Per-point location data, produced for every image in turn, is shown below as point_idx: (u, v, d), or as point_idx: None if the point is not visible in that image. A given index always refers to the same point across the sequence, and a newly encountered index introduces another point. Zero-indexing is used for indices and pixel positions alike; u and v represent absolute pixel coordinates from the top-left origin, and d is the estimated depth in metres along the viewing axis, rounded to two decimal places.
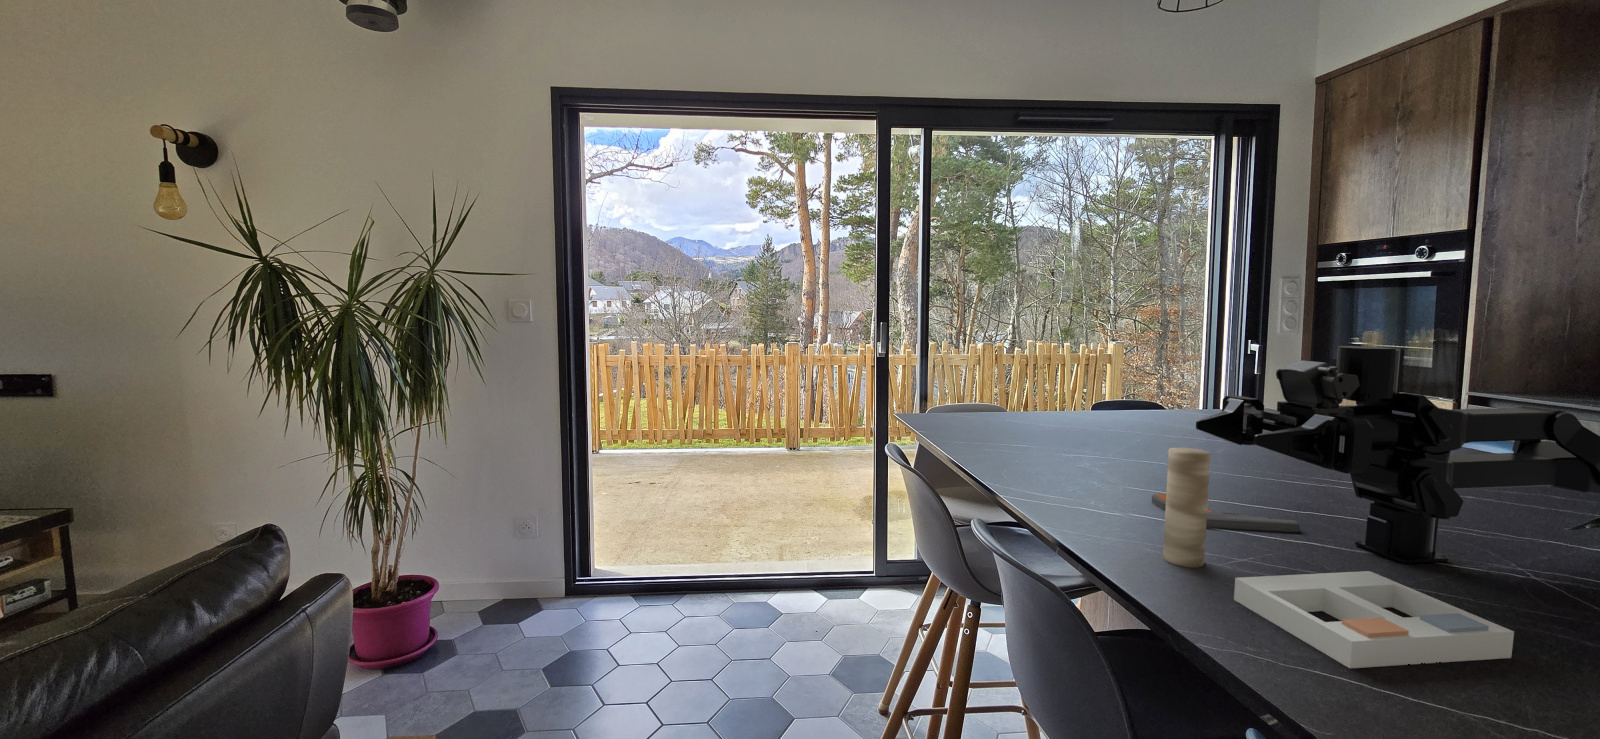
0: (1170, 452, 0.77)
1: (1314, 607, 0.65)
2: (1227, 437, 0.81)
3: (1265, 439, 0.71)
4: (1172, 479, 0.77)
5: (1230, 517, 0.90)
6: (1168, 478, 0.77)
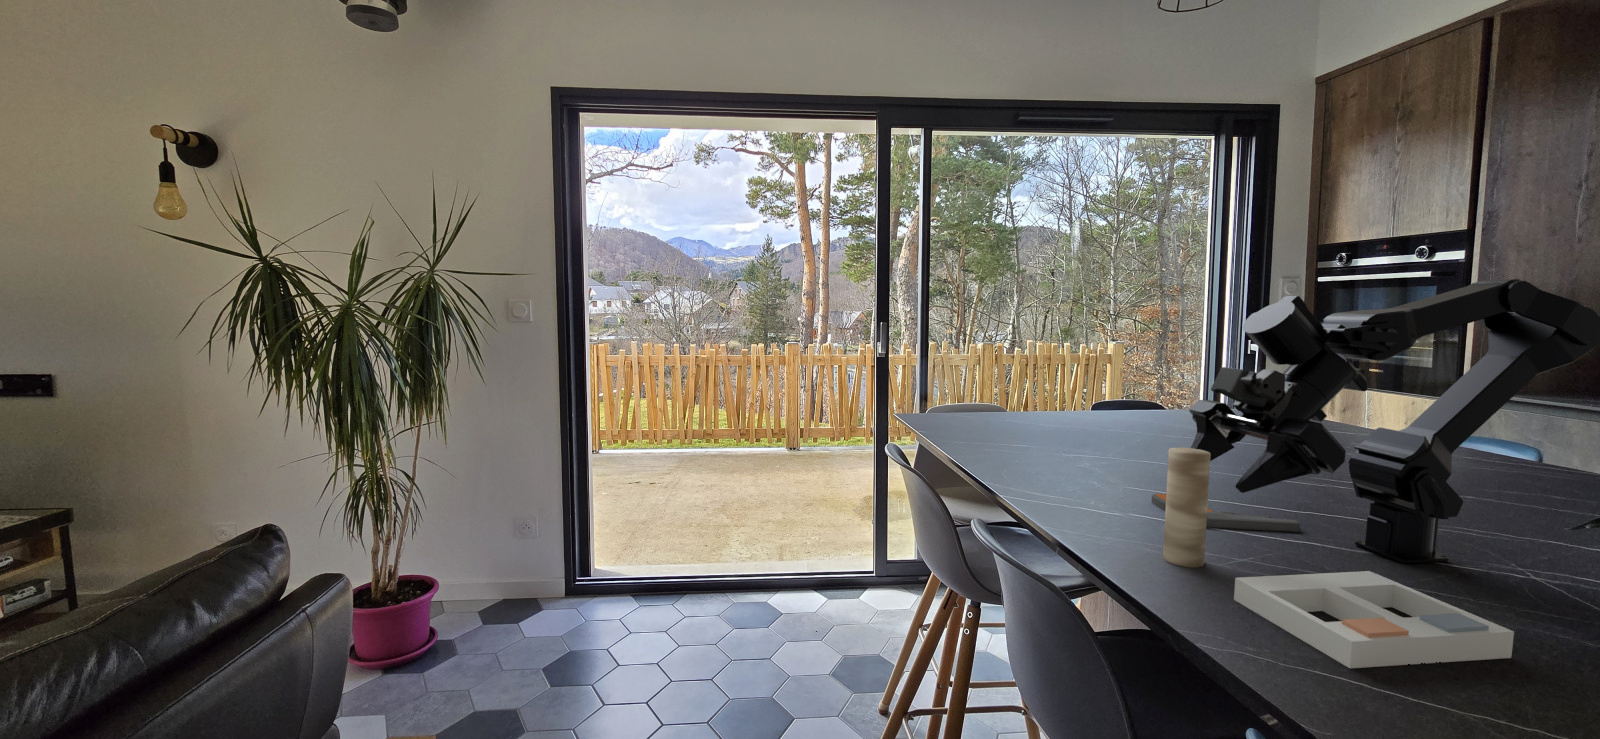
0: (1170, 452, 0.77)
1: (1314, 607, 0.65)
2: (1218, 454, 0.82)
3: (1246, 484, 0.72)
4: (1172, 479, 0.77)
5: (1231, 517, 0.90)
6: (1168, 478, 0.77)
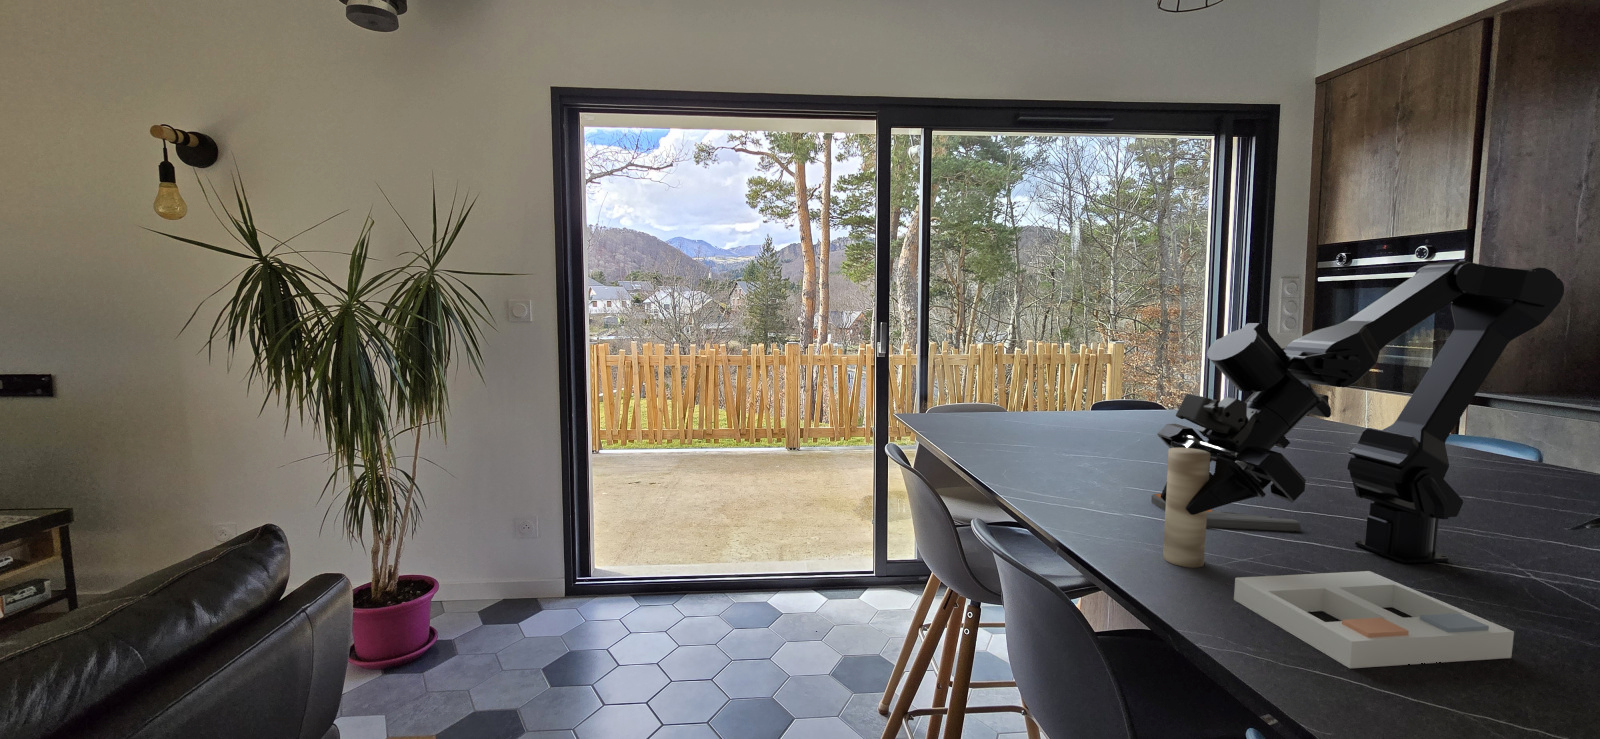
0: (1170, 452, 0.77)
1: (1314, 607, 0.65)
2: None
3: (1195, 506, 0.74)
4: (1172, 479, 0.77)
5: (1231, 516, 0.90)
6: (1168, 478, 0.77)
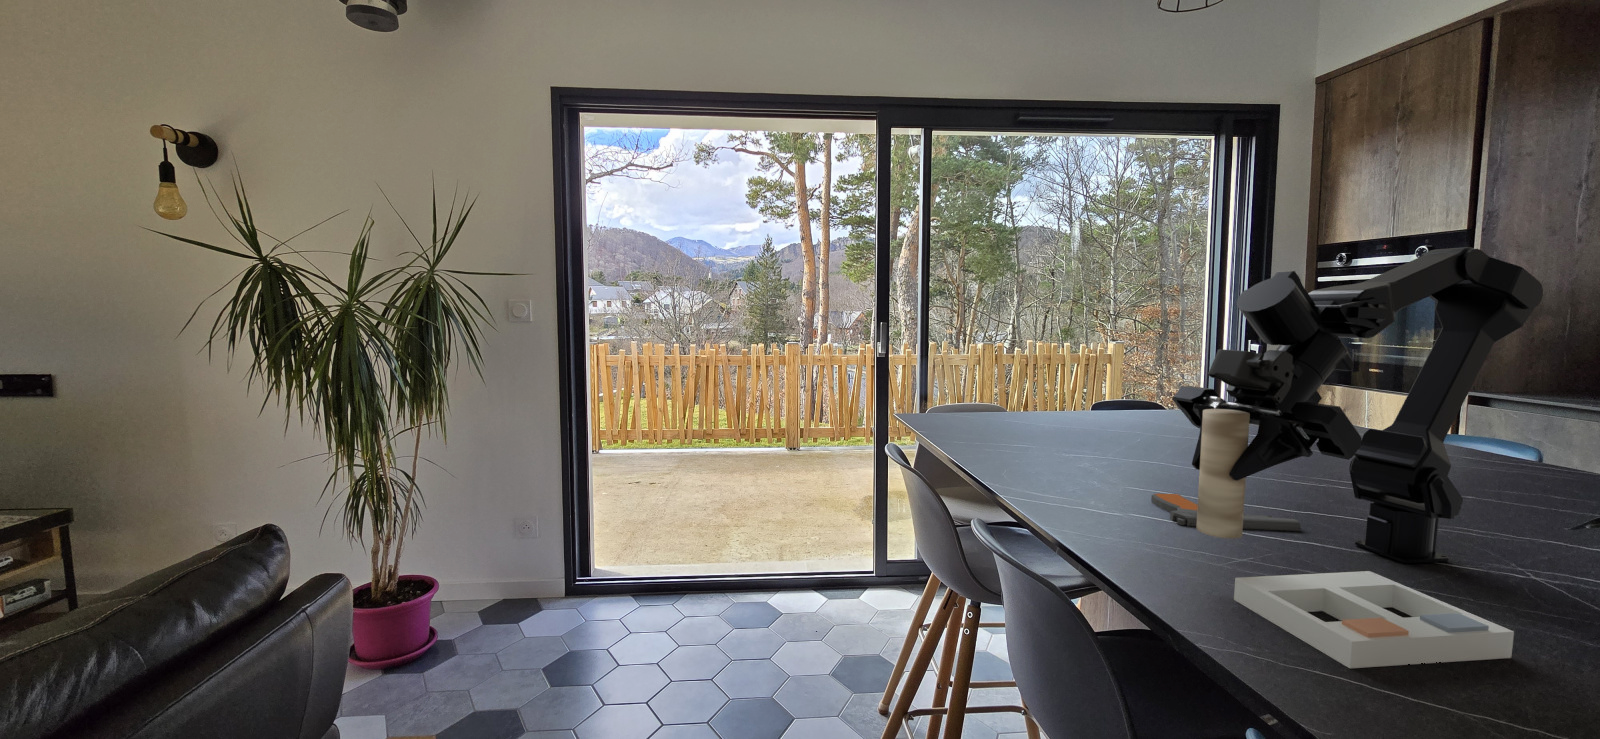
0: (1207, 413, 0.70)
1: (1314, 607, 0.65)
2: None
3: (1240, 471, 0.68)
4: (1211, 443, 0.70)
5: None
6: (1204, 442, 0.70)
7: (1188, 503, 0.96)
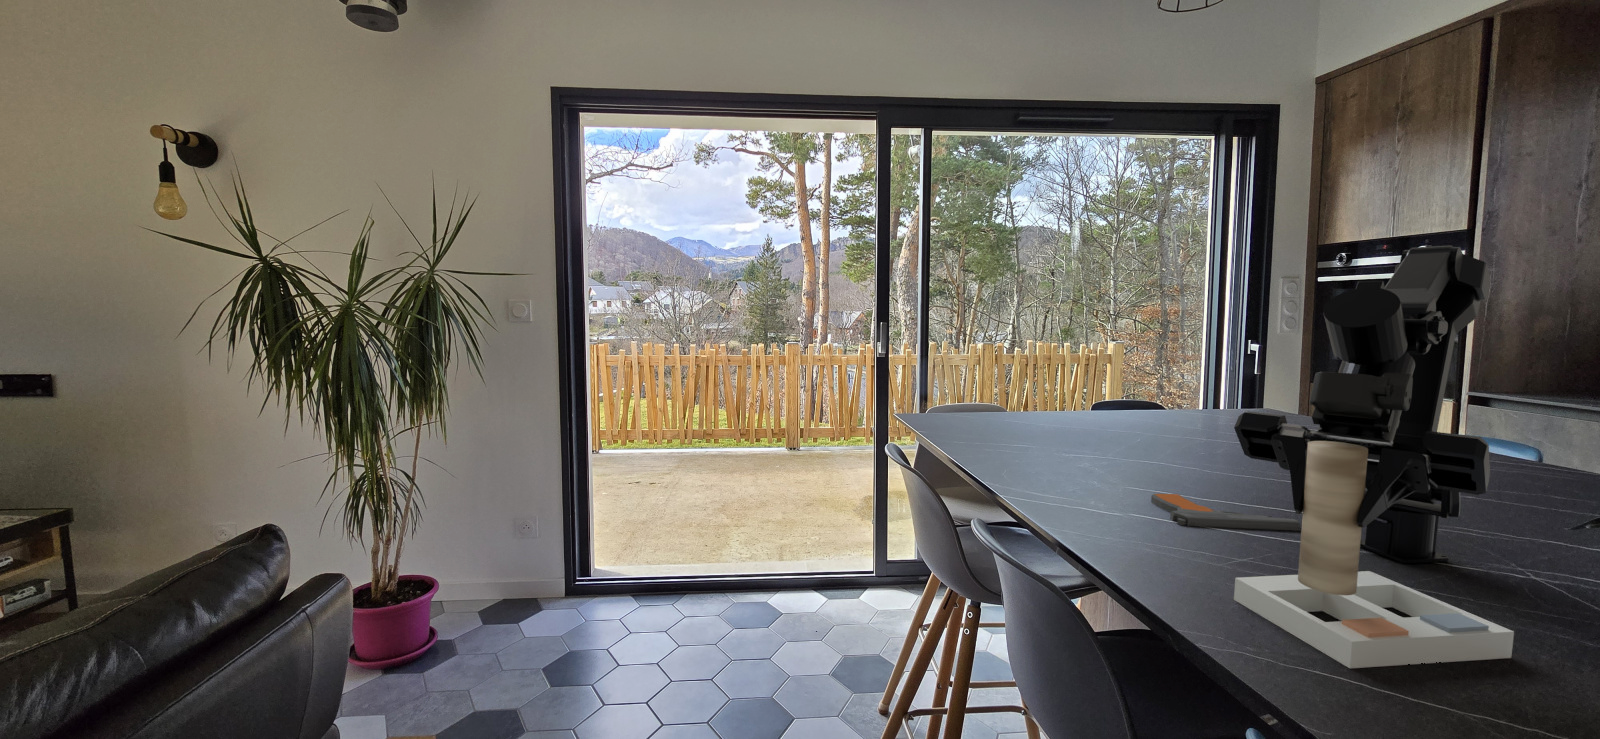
0: (1325, 450, 0.59)
1: (1314, 607, 0.65)
2: None
3: (1368, 516, 0.57)
4: (1331, 484, 0.58)
5: (1232, 516, 0.90)
6: (1320, 484, 0.59)
7: (1188, 503, 0.96)
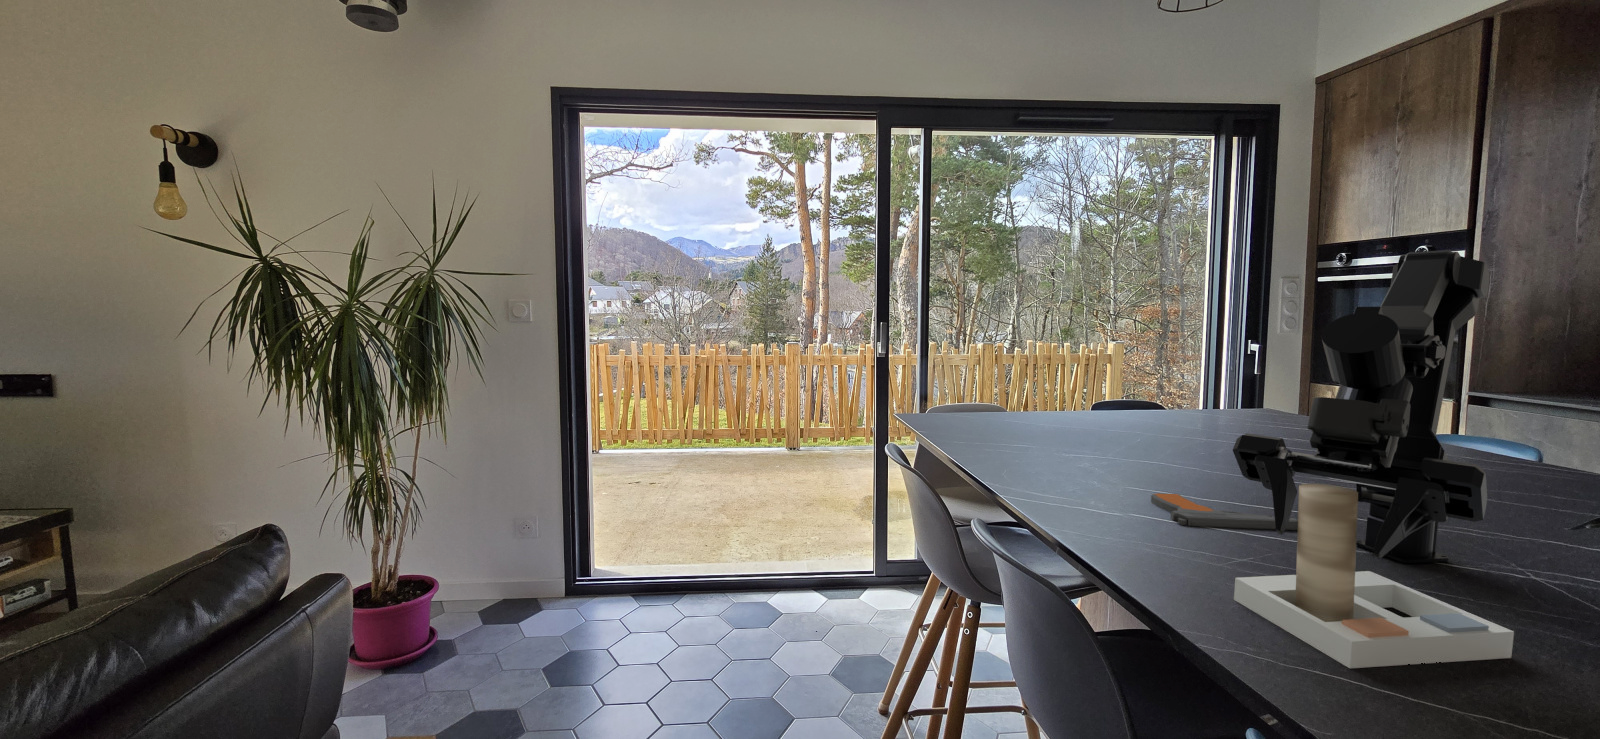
0: (1315, 494, 0.59)
1: None
2: (1292, 504, 0.65)
3: (1385, 547, 0.57)
4: (1323, 528, 0.59)
5: (1232, 516, 0.90)
6: (1312, 528, 0.60)
7: (1188, 503, 0.97)
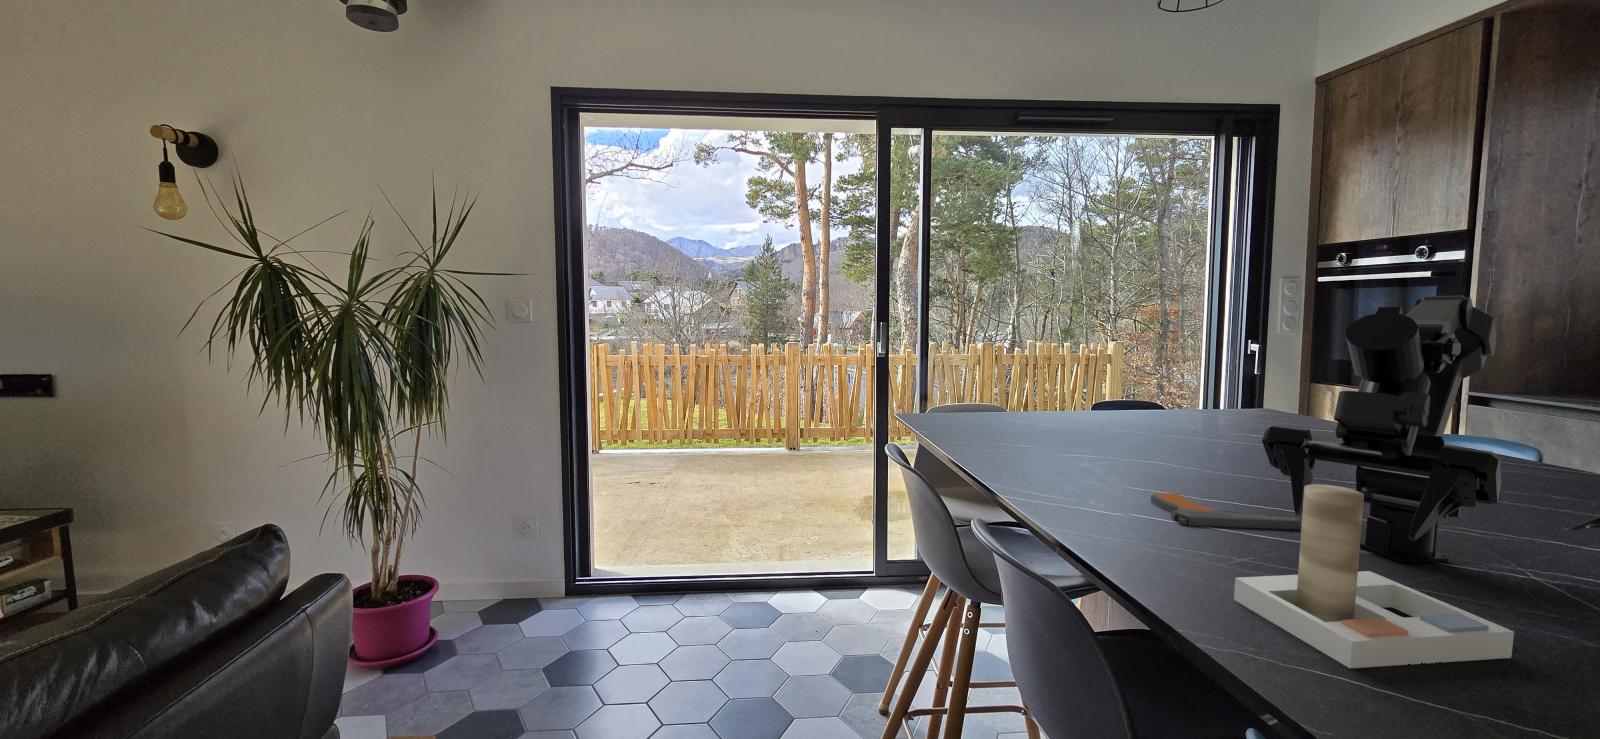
0: (1321, 495, 0.59)
1: None
2: None
3: (1420, 530, 0.61)
4: (1328, 530, 0.59)
5: (1232, 515, 0.91)
6: (1316, 529, 0.60)
7: (1188, 502, 0.97)
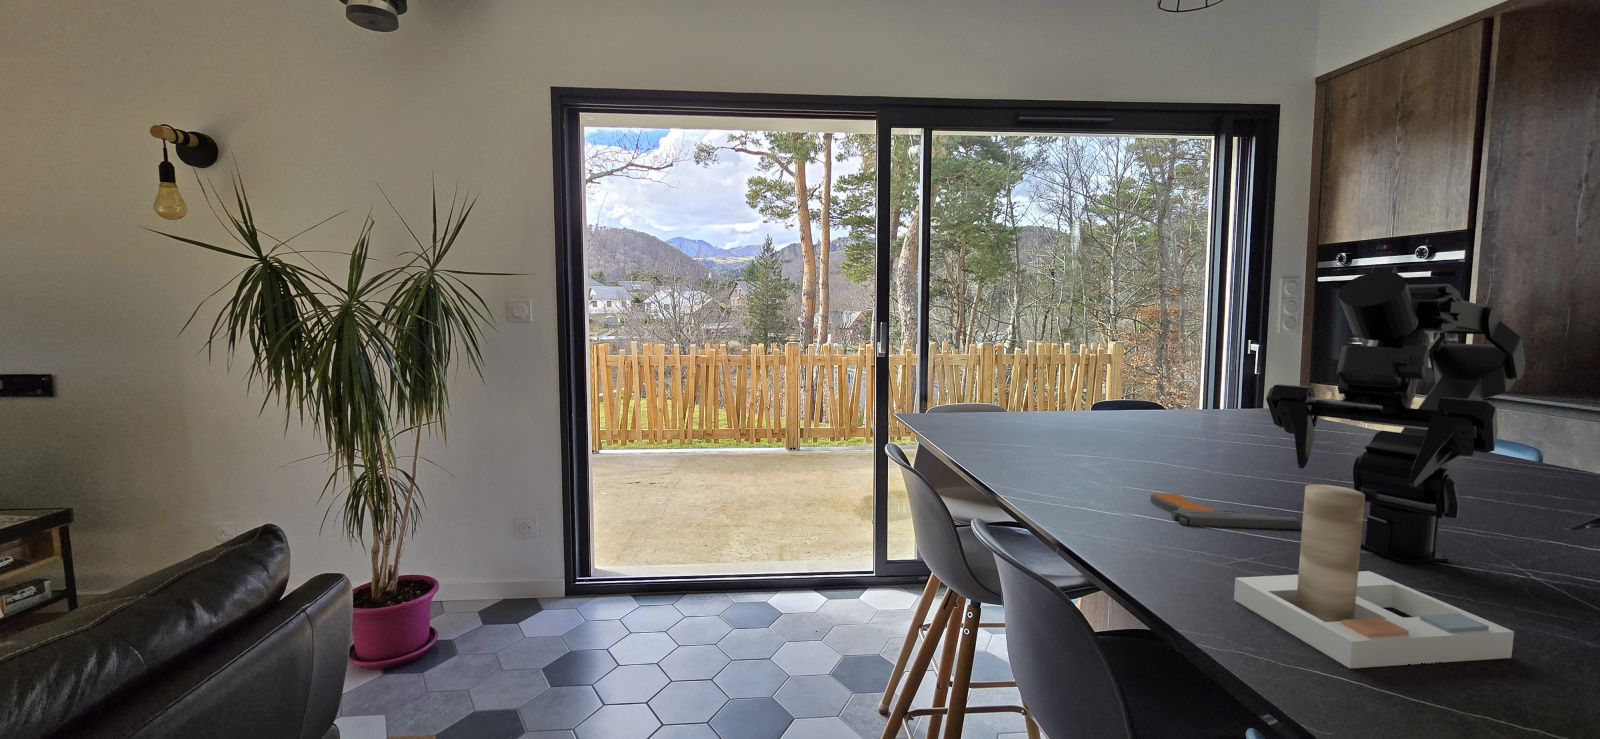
0: (1322, 495, 0.59)
1: None
2: (1311, 443, 0.73)
3: (1419, 477, 0.63)
4: (1328, 530, 0.59)
5: (1232, 515, 0.91)
6: (1317, 529, 0.60)
7: (1188, 502, 0.97)
